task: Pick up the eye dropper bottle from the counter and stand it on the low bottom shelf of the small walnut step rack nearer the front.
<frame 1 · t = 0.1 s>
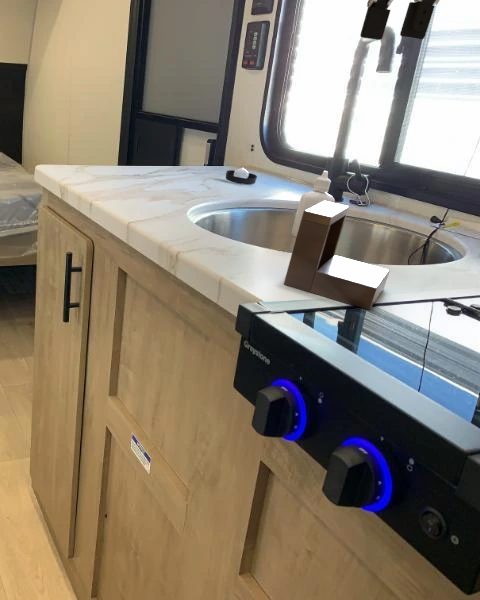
hand: (390, 38, 82), 32 cm above the countertop, tool pointing down, fingers open, 9 cm apart
eye dropper bottle: (306, 239, 106), on the countertop
rack: (334, 287, 82), on the countertop
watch: (239, 183, 153), on the countertop
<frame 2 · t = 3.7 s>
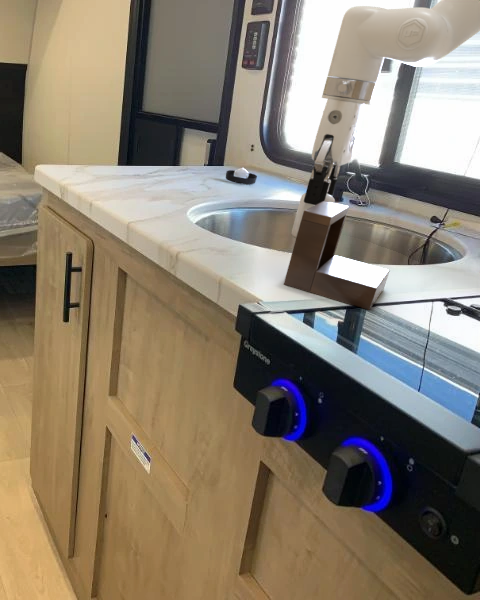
hand: (317, 201, 103), 7 cm above the countertop, tool pointing down, fingers closed on eye dropper bottle, 4 cm apart
eye dropper bottle: (306, 239, 106), on the countertop, touching gripper
everything else where it was.
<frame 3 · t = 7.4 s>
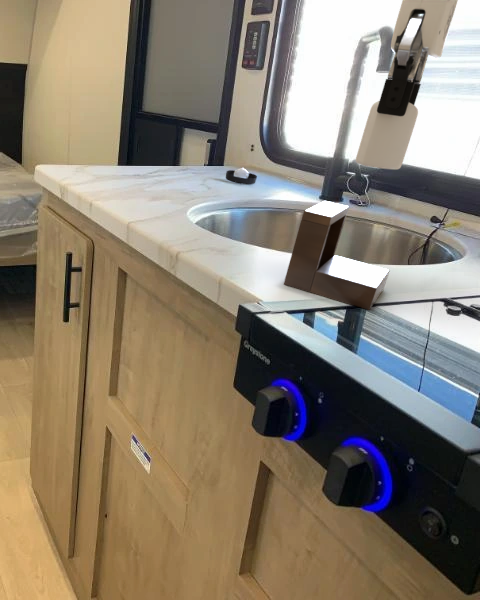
hand: (394, 113, 76), 23 cm above the countertop, tool pointing down, fingers closed on eye dropper bottle, 4 cm apart
eye dropper bottle: (376, 168, 79), point 16 cm above the countertop, touching gripper
everything else where it was.
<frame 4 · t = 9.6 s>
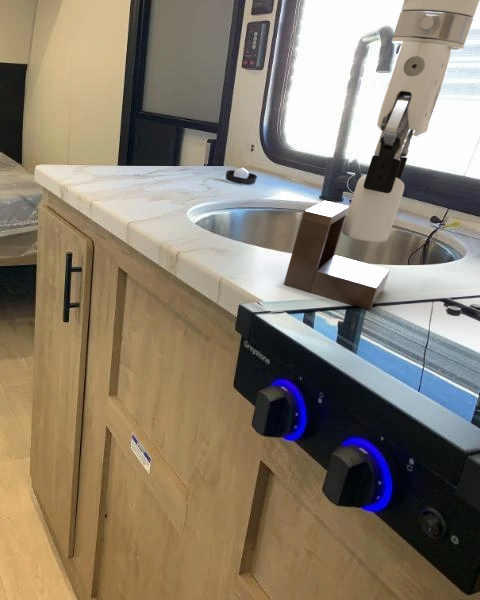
hand: (380, 186, 76), 14 cm above the countertop, tool pointing down, fingers closed on eye dropper bottle, 4 cm apart
eye dropper bottle: (363, 239, 79), point 7 cm above the countertop, touching gripper
everything else where it was.
when the fingers open (10 cm above the countertop, at t = 11.2 s): eye dropper bottle stays where it is, resting on rack.
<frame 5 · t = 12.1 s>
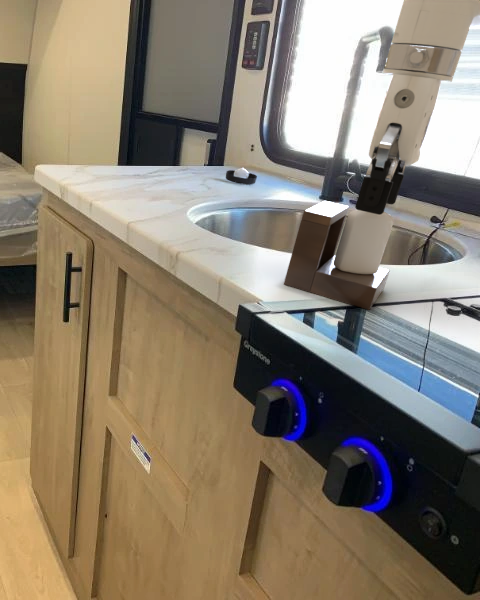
hand: (375, 206, 77), 12 cm above the countertop, tool pointing down, fingers open, 9 cm apart
eye dropper bottle: (353, 271, 80), point 3 cm above the countertop, touching rack
everything else where it was.
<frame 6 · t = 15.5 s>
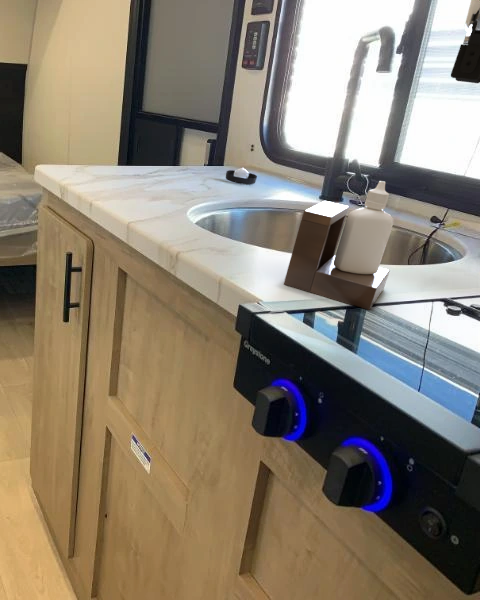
hand: (465, 80, 81), 28 cm above the countertop, tool pointing down, fingers open, 9 cm apart
nothing on the countertop moved.
at the end: eye dropper bottle inside the target area on the rack (0.1 cm from its centre), point 2.8 cm above the rack's base; eye dropper bottle tilted 0°; the gripper is holding nothing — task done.
